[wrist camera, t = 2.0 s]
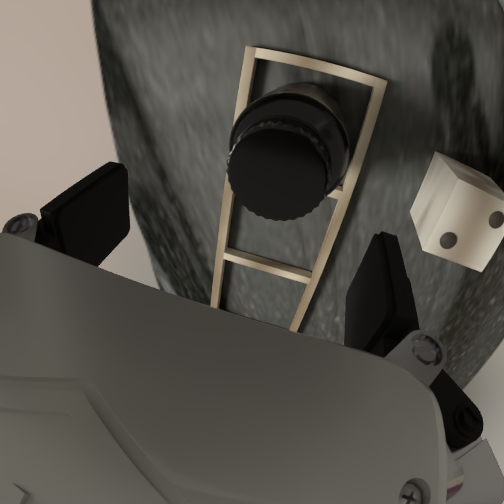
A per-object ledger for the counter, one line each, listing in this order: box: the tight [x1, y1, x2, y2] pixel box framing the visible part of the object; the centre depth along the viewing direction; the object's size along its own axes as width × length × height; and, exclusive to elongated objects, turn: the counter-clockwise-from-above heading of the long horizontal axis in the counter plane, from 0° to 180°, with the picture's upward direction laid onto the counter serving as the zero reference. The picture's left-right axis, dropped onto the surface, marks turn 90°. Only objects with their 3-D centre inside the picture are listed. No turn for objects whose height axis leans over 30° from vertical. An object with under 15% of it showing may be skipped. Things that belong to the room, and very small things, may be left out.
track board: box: [211, 46, 387, 332], centre depth 29 cm, size 11×30×1 cm, turn 170°
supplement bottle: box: [226, 82, 350, 221], centre depth 18 cm, size 7×7×12 cm
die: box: [410, 151, 504, 272], centre depth 20 cm, size 6×6×6 cm
